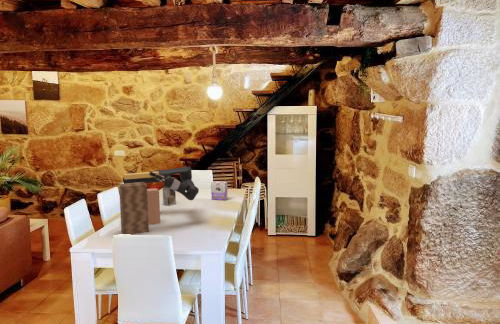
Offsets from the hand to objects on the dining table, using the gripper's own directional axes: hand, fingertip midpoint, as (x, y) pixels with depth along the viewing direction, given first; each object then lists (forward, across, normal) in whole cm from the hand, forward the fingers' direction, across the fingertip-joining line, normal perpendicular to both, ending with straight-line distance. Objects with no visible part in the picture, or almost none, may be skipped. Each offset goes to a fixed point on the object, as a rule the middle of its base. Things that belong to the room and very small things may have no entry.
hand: (149, 172), depth 255 cm
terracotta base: (-23, -16, +32) cm, 42 cm away
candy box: (-84, -60, -3) cm, 104 cm away
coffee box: (-45, -63, +19) cm, 80 cm away
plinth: (-10, 0, +39) cm, 40 cm away
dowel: (+3, 0, +5) cm, 6 cm away
